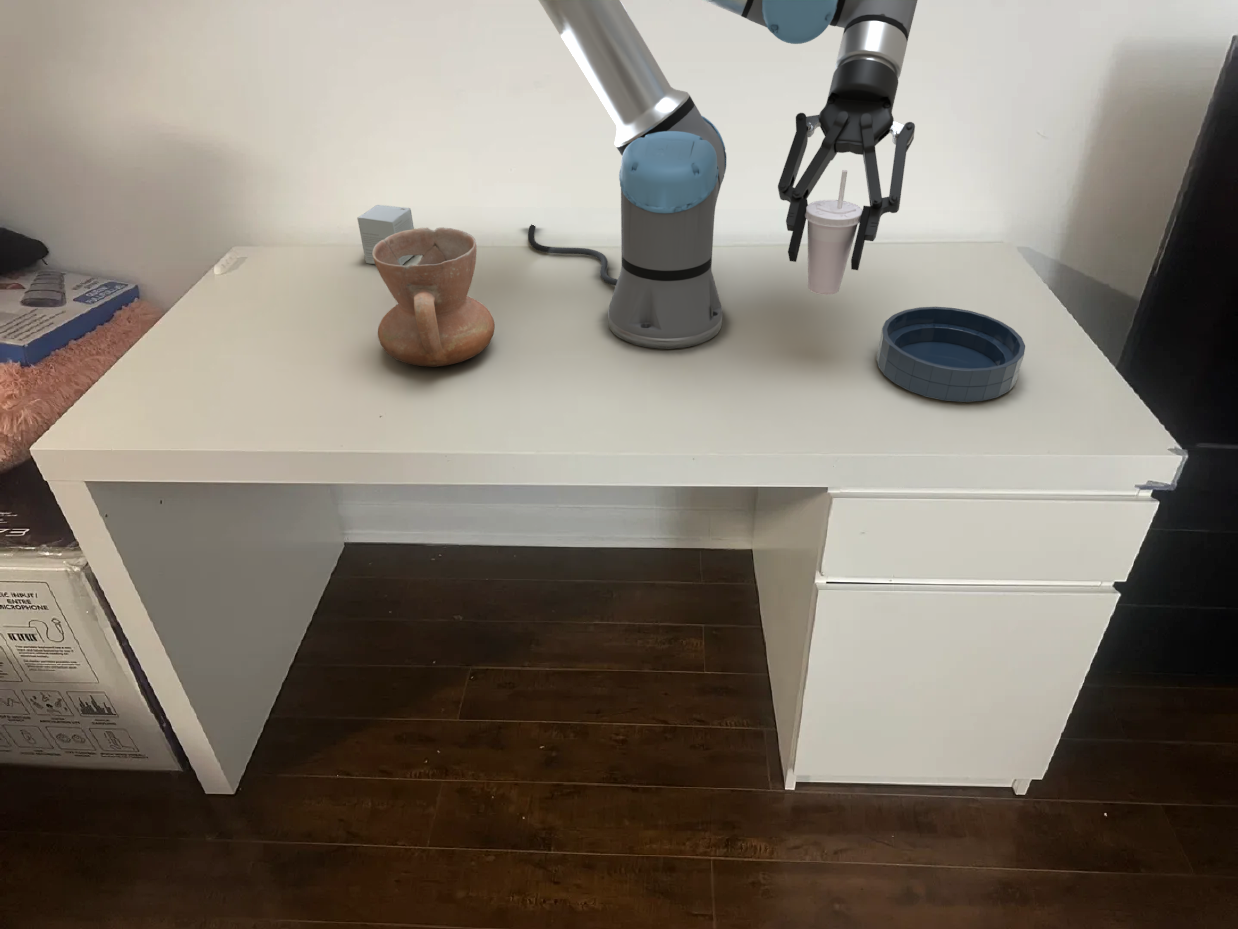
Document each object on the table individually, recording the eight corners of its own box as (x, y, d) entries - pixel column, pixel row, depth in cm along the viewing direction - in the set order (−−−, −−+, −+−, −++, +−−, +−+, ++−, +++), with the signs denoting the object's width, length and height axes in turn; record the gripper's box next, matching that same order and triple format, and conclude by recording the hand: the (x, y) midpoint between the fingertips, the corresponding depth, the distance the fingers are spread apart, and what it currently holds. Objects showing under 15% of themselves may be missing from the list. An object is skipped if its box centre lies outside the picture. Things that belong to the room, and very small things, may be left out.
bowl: (851, 351, 110) (856, 319, 108) (956, 329, 115) (964, 298, 112) (930, 416, 98) (938, 381, 95) (1045, 389, 103) (1056, 355, 100)
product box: (384, 248, 139) (376, 203, 135) (419, 252, 137) (412, 207, 133) (364, 263, 134) (355, 217, 130) (400, 268, 133) (392, 221, 128)
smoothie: (851, 301, 101) (870, 181, 93) (795, 297, 102) (809, 178, 94) (850, 278, 106) (868, 162, 98) (797, 274, 107) (810, 160, 99)
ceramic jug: (393, 322, 118) (374, 220, 110) (500, 318, 119) (489, 217, 110) (370, 391, 104) (347, 280, 95) (492, 386, 104) (480, 275, 96)
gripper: (950, 100, 102) (909, 285, 99) (786, 88, 108) (744, 262, 105) (956, 61, 95) (912, 258, 92) (781, 50, 101) (735, 236, 98)
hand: (823, 260), depth 99 cm, fingers closed on smoothie, 6 cm apart
